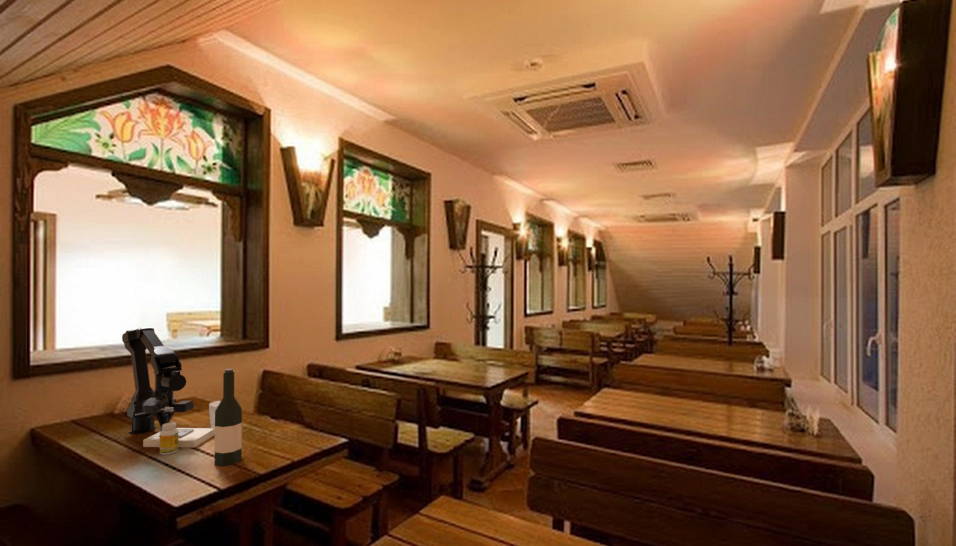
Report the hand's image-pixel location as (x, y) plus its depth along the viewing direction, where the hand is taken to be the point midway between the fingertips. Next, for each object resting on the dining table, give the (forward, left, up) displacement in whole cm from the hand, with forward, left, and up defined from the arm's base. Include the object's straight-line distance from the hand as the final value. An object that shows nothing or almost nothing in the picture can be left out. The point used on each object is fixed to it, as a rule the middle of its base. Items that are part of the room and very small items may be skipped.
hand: (164, 429), depth 174 cm
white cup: (+13, +14, -4) cm, 20 cm away
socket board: (+6, 0, -4) cm, 7 cm away
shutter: (+5, 0, -1) cm, 5 cm away
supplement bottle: (+9, -11, -4) cm, 15 cm away
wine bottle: (+33, -18, -4) cm, 38 cm away
